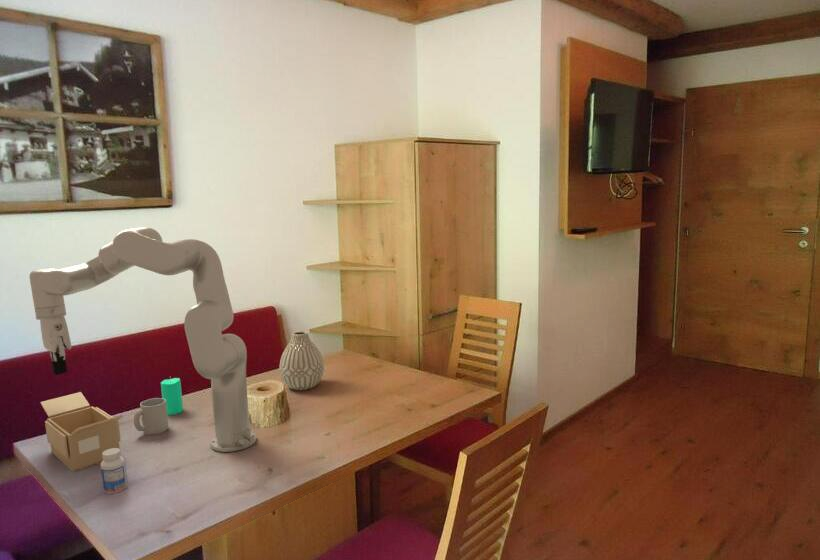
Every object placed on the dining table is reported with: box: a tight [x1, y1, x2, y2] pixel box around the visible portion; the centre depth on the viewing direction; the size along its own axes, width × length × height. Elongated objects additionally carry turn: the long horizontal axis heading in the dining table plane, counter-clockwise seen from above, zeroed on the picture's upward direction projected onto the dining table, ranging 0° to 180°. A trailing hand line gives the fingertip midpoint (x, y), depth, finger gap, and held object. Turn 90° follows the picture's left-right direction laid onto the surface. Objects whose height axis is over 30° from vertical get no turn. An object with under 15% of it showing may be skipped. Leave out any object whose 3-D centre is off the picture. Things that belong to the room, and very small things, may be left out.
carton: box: [44, 406, 122, 472], centre depth 169 cm, size 18×14×10 cm
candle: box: [160, 377, 184, 416], centre depth 199 cm, size 6×6×12 cm
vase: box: [278, 330, 325, 391], centre depth 218 cm, size 16×16×20 cm
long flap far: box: [40, 391, 91, 418], centre depth 176 cm, size 1×11×7 cm
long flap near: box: [71, 414, 124, 435], centre depth 159 cm, size 1×11×7 cm
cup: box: [133, 397, 169, 436], centre depth 183 cm, size 7×10×9 cm
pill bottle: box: [100, 448, 129, 494], centre depth 149 cm, size 6×5×10 cm
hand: (60, 373), depth 177 cm, fingers closed
